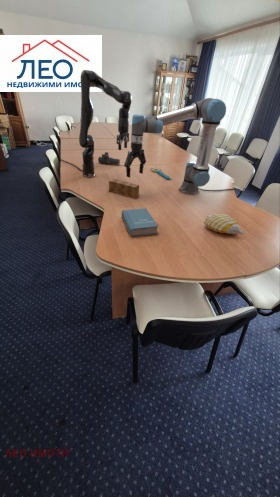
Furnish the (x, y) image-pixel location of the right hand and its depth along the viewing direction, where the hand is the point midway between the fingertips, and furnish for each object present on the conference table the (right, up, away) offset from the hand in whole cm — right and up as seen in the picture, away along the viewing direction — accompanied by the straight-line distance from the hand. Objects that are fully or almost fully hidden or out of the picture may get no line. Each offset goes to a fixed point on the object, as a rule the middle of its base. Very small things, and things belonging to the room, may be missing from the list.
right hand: (134, 175), depth 156 cm
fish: (+55, -41, -20) cm, 71 cm away
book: (+3, -38, -22) cm, 44 cm away
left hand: (-10, +24, +13) cm, 29 cm away
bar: (-9, -9, +16) cm, 21 cm away
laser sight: (-29, +37, +76) cm, 90 cm away
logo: (+25, +21, +61) cm, 69 cm away
